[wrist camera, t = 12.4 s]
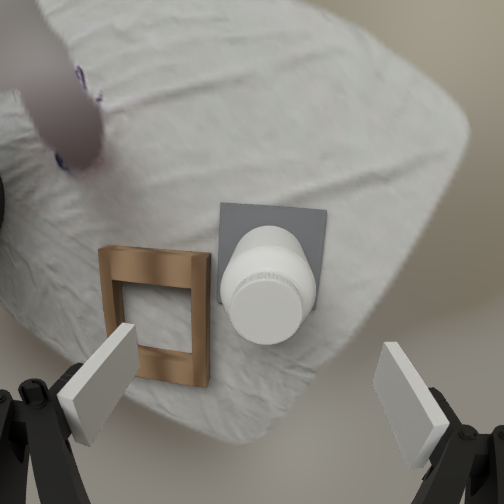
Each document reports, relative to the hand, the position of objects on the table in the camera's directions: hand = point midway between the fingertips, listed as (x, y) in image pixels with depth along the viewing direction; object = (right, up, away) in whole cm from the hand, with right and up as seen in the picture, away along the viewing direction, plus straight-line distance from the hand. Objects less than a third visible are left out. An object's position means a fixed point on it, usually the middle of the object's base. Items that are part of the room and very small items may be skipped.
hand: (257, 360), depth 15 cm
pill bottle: (+2, +5, +21) cm, 22 cm away
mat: (+2, +5, +21) cm, 22 cm away
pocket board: (-13, -3, +24) cm, 27 cm away
